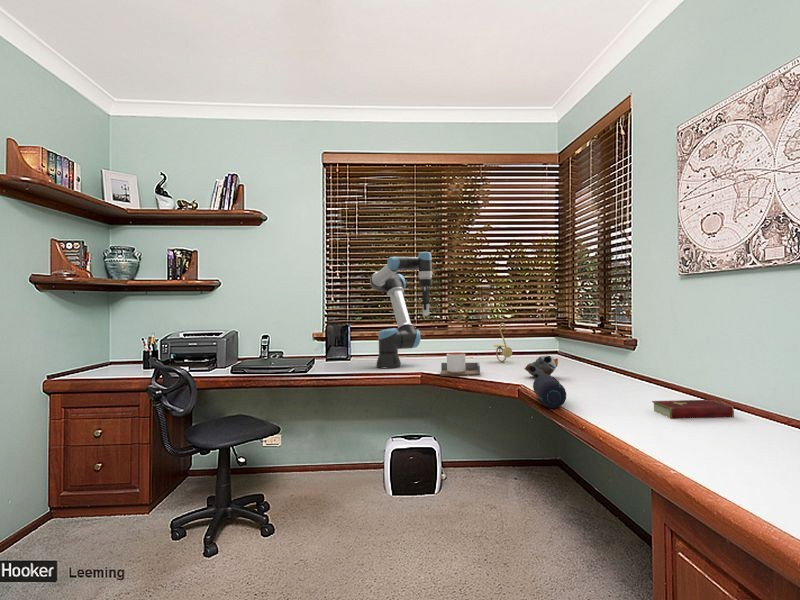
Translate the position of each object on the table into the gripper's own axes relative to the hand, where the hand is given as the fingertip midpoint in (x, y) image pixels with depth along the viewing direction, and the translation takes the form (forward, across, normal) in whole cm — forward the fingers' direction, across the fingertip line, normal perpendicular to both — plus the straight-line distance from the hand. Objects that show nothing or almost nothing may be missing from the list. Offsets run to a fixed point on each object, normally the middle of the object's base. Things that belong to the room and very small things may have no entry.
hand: (426, 315), depth 292 cm
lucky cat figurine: (+32, -26, -61) cm, 73 cm away
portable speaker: (+32, -91, -54) cm, 110 cm away
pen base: (+32, -14, -19) cm, 40 cm away
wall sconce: (+32, +35, -45) cm, 65 cm away
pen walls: (+30, -15, -19) cm, 39 cm away
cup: (+31, -16, -17) cm, 38 cm away
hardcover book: (+32, -108, -99) cm, 150 cm away
